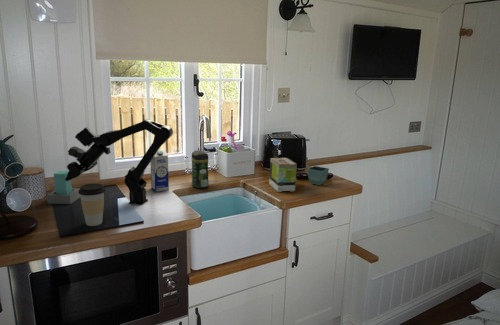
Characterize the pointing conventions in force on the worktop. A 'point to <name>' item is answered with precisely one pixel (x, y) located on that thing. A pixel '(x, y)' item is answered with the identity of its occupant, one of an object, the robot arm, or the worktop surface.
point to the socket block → (63, 197)
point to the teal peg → (62, 183)
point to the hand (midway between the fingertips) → (70, 177)
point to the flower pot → (317, 175)
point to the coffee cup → (92, 203)
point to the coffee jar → (199, 169)
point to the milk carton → (159, 171)
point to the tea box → (282, 174)
